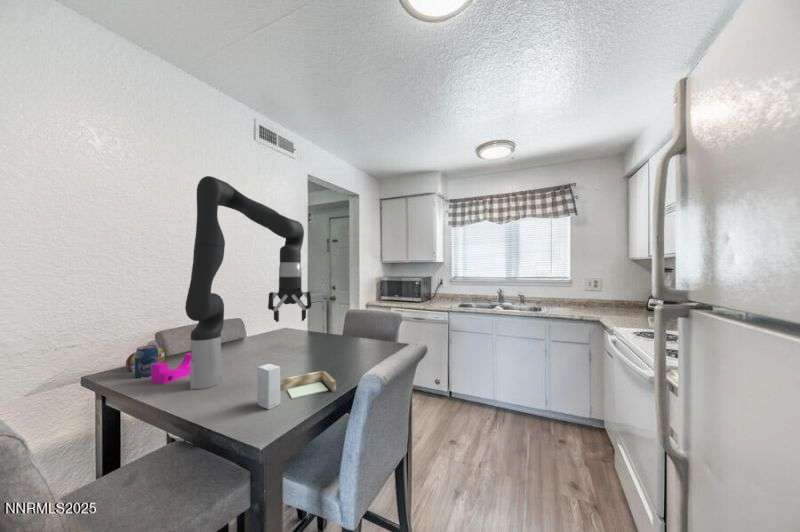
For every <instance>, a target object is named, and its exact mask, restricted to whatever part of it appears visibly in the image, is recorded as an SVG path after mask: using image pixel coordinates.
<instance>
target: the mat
mask: <svg viewBox="0 0 800 532" xmlns="http://www.w3.org/2000/svg"><path fill="white" fill-rule="evenodd" d="M286 391H287V393H288V395H289V397H290V398H291V400H296V399H298V398H303V397H308V396H312V395H316V394H319V393H323V392H325V393H326V392H327V391H329V388H328V387H326V385H324V384H323V383H322V381H320V382H316V383H311V384H307V385H302V386H297V387H293V388H288V389H286Z"/></svg>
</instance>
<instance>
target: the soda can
mask: <svg viewBox="0 0 800 532" xmlns="http://www.w3.org/2000/svg"><path fill="white" fill-rule="evenodd" d="M157 347H158V346H157V345H156V344H151V345H149V344H148V345H142V346H138V347H137V348H136V350H135V352H134V353H135V371H134V378H136V377H138V378H137V379H142V378H141V377H148V378H150V377H149V376H151V365H152V364H155V363H158V349H157Z"/></svg>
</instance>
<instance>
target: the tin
mask: <svg viewBox="0 0 800 532" xmlns="http://www.w3.org/2000/svg"><path fill="white" fill-rule="evenodd" d="M156 347H157V349H158V362H161V363H163V362H162V361H164V362H165V360H166V358H167V352H166V349H165V348H164V347H162V346H156ZM125 367H126V370H132V371H131V372H133V370H135V352H133V353H131V354H130V355H129V356H128V357H127V358H126V360H125Z"/></svg>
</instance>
